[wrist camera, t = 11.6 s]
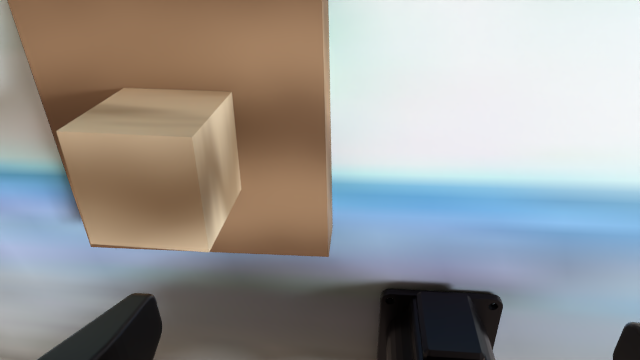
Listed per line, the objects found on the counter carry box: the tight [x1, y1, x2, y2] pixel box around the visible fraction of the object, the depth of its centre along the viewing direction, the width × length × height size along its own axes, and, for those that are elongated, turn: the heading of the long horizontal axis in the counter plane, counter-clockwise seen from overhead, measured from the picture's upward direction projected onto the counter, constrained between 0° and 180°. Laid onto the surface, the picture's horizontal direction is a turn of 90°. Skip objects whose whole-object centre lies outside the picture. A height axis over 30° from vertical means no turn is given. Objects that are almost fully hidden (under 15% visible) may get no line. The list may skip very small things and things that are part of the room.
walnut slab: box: [7, 0, 333, 257], centre depth 21 cm, size 12×12×3 cm
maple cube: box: [56, 88, 241, 252], centre depth 17 cm, size 4×4×4 cm
